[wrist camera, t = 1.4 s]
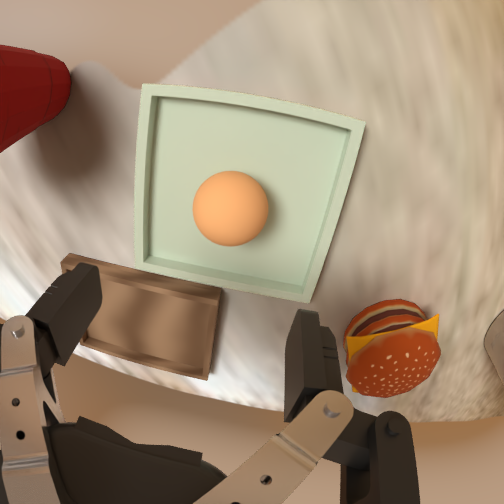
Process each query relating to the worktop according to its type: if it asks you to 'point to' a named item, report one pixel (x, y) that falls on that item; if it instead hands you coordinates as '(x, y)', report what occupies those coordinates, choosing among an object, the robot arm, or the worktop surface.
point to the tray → (152, 319)
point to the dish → (251, 163)
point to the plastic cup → (29, 92)
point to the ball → (230, 208)
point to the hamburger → (390, 348)
